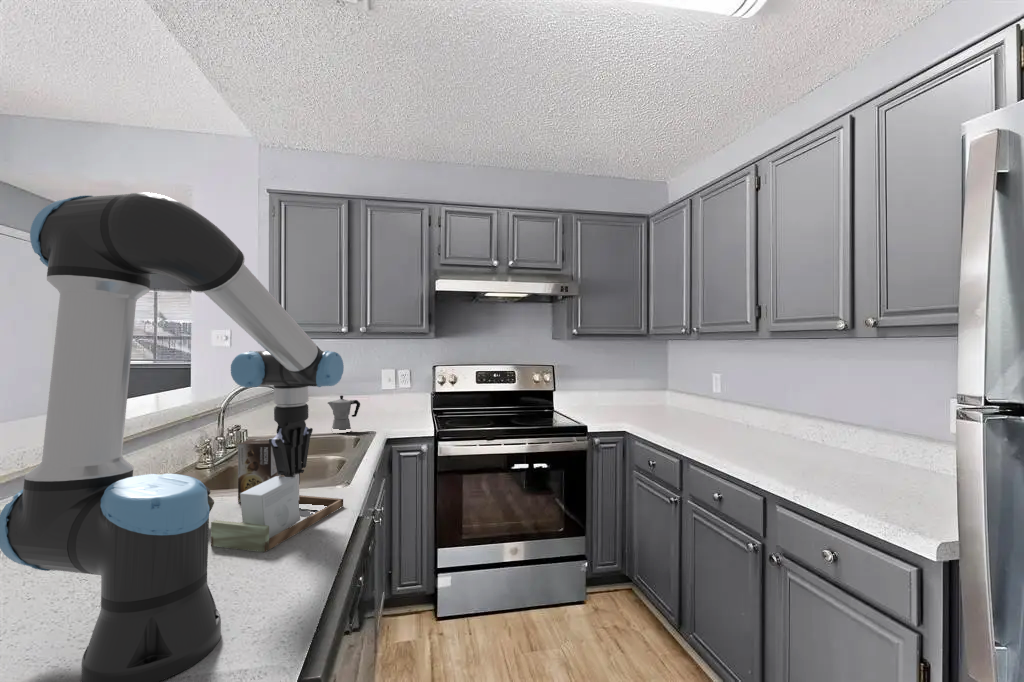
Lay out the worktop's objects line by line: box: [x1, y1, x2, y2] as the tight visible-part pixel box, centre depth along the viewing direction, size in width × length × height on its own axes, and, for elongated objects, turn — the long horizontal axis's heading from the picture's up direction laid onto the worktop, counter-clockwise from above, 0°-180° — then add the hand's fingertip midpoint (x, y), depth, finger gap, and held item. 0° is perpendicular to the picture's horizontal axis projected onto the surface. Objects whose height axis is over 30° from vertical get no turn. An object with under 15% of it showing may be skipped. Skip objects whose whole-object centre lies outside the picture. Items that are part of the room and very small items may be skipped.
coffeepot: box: [327, 395, 361, 430], centre depth 229 cm, size 15×9×18 cm, turn 100°
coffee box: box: [237, 438, 282, 503], centre depth 128 cm, size 9×6×16 cm
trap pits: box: [299, 508, 318, 517], centre depth 119 cm, size 8×12×1 cm, turn 77°
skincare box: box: [240, 475, 301, 538], centre depth 105 cm, size 10×6×10 cm, turn 163°
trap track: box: [210, 494, 344, 553], centre depth 110 cm, size 28×13×5 cm, turn 167°
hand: (292, 500), depth 113 cm, fingers closed
